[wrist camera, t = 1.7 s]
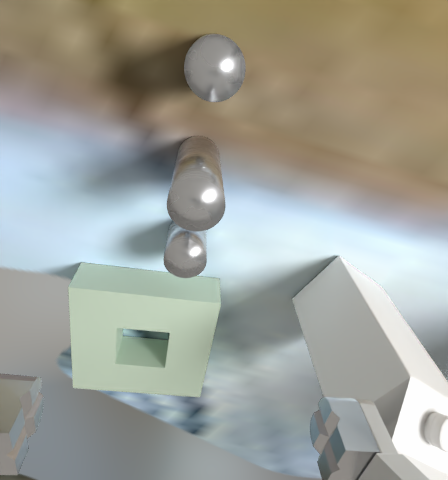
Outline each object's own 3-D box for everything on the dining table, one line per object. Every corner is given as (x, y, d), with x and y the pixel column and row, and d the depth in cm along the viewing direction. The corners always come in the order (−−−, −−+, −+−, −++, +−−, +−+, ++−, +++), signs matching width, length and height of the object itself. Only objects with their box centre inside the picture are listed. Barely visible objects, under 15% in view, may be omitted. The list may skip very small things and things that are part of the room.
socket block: (219, 278, 37) (221, 303, 34) (200, 368, 44) (199, 397, 41) (81, 262, 35) (68, 287, 32) (83, 359, 42) (73, 388, 39)
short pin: (208, 218, 34) (209, 245, 29) (203, 250, 35) (202, 280, 31) (170, 212, 33) (165, 239, 29) (167, 245, 35) (161, 275, 31)
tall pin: (222, 139, 30) (230, 183, 21) (215, 179, 32) (219, 234, 23) (180, 132, 29) (169, 174, 21) (175, 173, 31) (164, 227, 23)
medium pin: (240, 39, 26) (251, 41, 20) (231, 90, 28) (238, 106, 22) (192, 29, 26) (188, 28, 20) (186, 82, 28) (180, 96, 22)
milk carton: (334, 325, 41) (419, 517, 25) (290, 297, 39) (352, 490, 23) (382, 286, 39) (511, 472, 22) (338, 253, 36) (447, 435, 20)
